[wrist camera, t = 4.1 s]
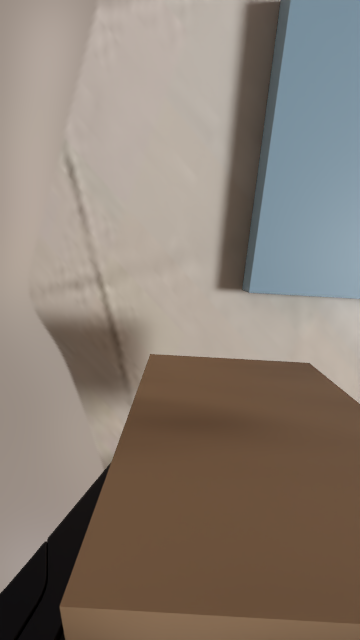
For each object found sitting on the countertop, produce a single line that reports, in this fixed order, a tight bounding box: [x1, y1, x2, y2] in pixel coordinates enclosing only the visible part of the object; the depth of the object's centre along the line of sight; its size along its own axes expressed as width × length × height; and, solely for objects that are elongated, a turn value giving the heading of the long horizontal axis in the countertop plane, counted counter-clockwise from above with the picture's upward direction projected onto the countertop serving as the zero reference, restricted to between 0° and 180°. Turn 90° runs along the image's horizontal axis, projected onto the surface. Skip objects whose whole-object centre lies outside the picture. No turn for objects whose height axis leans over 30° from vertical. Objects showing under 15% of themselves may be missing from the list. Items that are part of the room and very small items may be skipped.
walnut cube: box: [60, 354, 360, 640], centre depth 6 cm, size 6×6×6 cm
